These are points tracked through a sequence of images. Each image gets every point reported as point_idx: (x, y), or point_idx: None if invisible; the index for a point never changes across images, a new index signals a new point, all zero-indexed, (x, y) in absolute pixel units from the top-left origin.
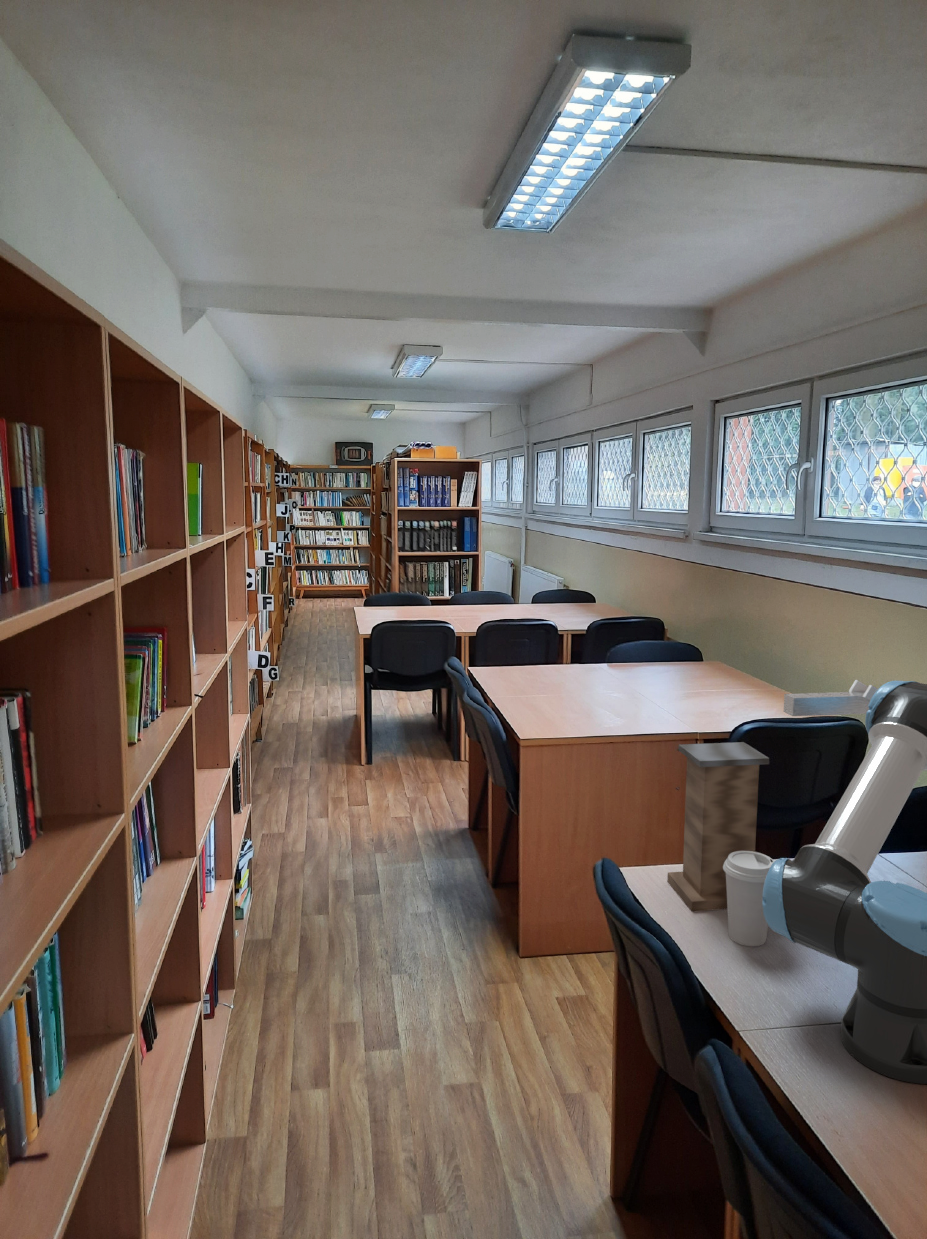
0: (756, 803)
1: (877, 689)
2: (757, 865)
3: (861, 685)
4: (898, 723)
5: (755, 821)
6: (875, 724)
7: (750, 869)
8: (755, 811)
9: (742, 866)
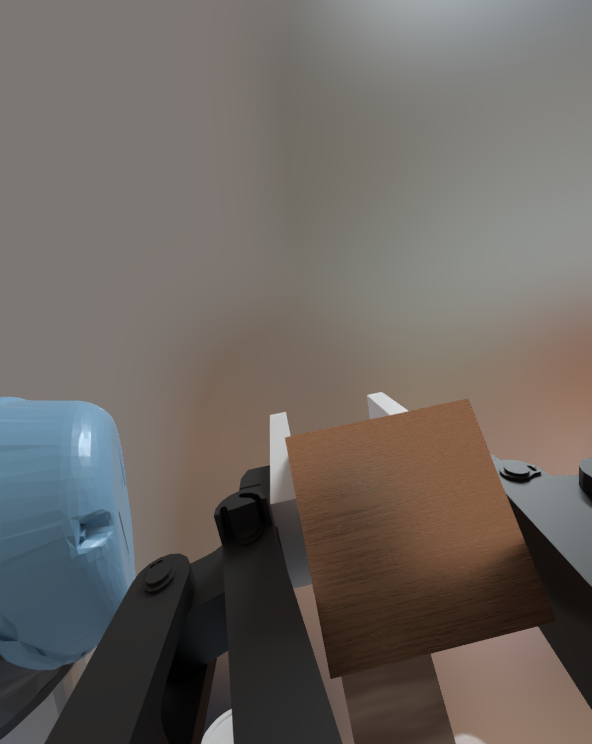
0: (343, 686)
1: (271, 429)
2: (219, 741)
3: (377, 414)
4: (97, 598)
5: (353, 736)
6: (130, 549)
7: (209, 727)
8: (347, 707)
9: (221, 716)
